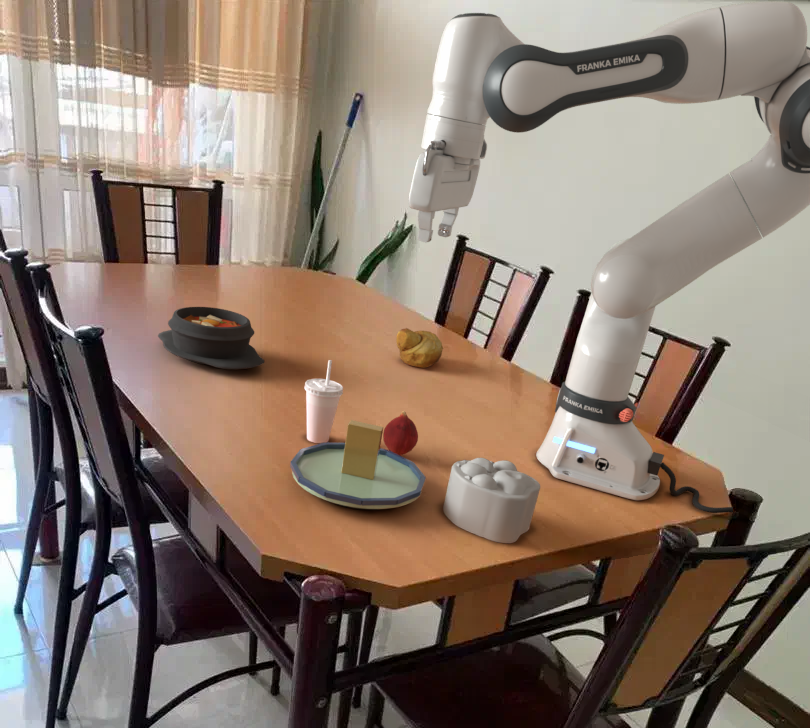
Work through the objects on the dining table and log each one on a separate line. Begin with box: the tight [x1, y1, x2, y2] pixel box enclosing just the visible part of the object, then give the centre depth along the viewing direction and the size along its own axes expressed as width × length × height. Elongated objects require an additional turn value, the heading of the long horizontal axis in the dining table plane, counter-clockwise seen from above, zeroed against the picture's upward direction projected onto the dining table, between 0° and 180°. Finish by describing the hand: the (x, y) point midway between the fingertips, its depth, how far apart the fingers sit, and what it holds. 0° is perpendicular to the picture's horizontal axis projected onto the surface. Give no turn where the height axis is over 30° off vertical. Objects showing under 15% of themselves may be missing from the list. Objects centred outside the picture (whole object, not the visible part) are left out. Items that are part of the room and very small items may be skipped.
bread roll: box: [395, 327, 444, 368], centre depth 185 cm, size 13×10×8 cm
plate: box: [289, 419, 427, 510], centre depth 120 cm, size 20×20×9 cm
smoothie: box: [303, 359, 344, 444], centre depth 134 cm, size 6×6×14 cm
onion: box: [382, 410, 419, 456], centre depth 135 cm, size 6×6×8 cm
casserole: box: [157, 306, 265, 370], centre depth 163 cm, size 25×19×8 cm
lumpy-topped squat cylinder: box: [442, 457, 541, 544], centre depth 119 cm, size 10×13×9 cm
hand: (434, 238), depth 125 cm, fingers open, 8 cm apart
